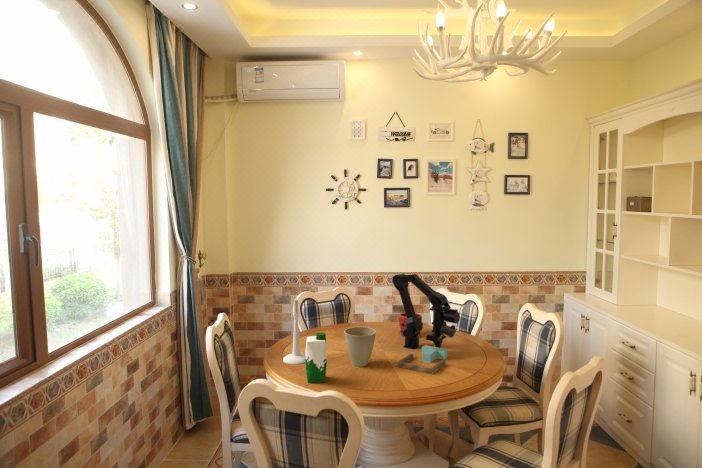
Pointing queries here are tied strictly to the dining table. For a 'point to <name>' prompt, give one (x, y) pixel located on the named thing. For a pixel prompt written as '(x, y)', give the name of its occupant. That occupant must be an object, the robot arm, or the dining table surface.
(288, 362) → the candlestick
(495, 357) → the dining table surface
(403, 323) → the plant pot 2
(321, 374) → the milk carton
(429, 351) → the tee
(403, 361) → the dock
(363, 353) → the plant pot
